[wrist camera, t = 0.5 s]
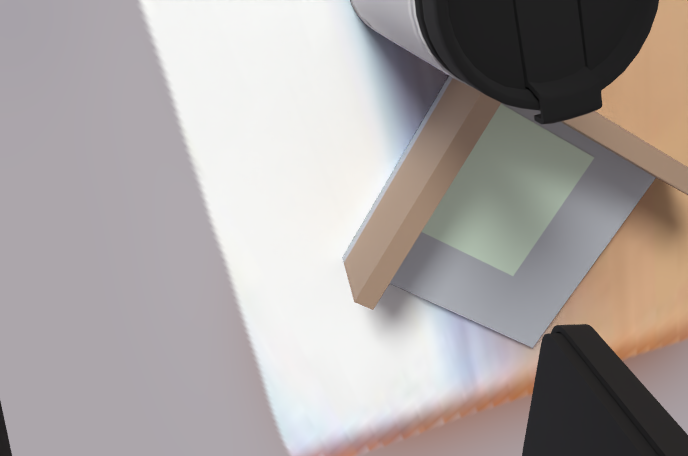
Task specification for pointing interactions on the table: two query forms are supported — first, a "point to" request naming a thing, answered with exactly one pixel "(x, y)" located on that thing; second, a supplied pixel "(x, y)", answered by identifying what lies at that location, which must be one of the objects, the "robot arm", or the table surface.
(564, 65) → the travel mug
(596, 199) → the box
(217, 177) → the table surface
